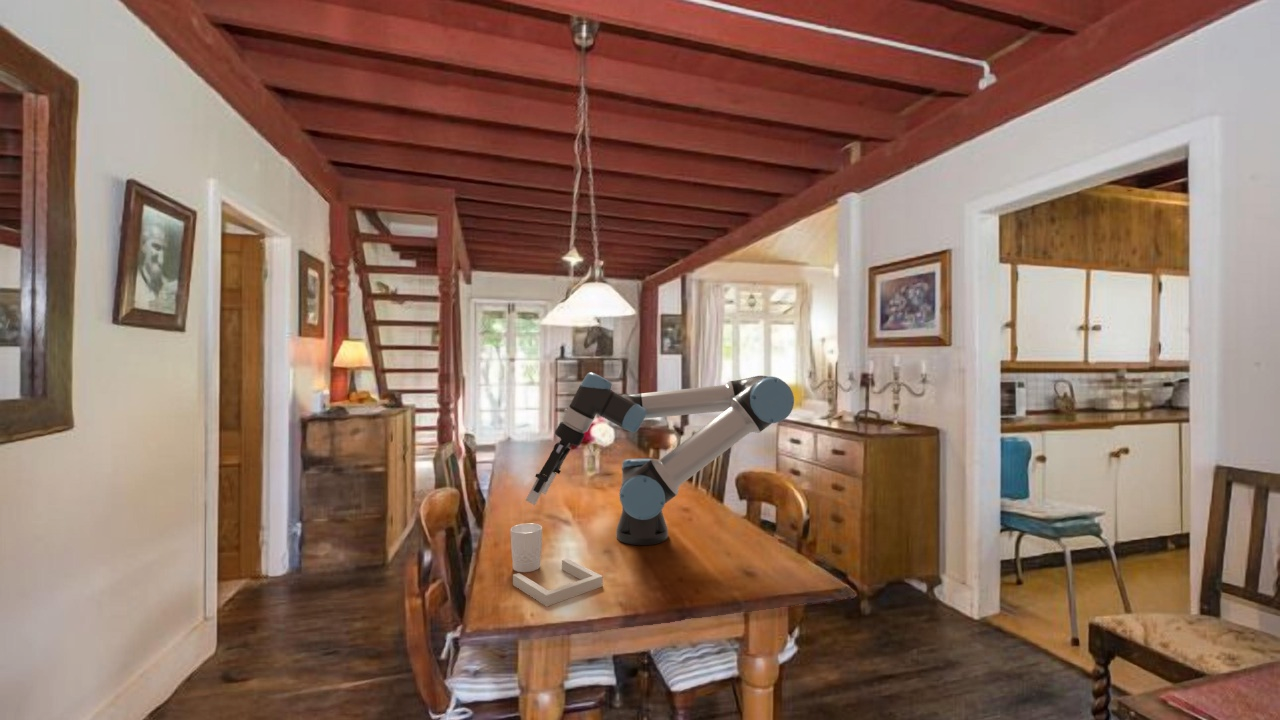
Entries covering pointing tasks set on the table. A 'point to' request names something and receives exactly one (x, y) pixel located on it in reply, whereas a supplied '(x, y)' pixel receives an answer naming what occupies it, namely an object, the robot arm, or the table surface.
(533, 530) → the white cup
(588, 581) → the bay
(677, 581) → the table surface
